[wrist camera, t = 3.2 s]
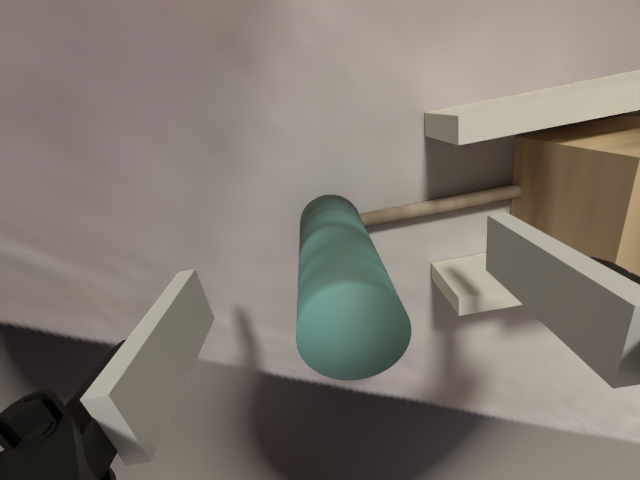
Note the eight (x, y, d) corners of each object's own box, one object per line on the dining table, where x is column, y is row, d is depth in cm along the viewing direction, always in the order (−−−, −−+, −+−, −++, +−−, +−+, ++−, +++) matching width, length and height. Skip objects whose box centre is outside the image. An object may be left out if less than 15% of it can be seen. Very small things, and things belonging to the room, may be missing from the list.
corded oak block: (310, 271, 20) (315, 412, 11) (289, 181, 18) (274, 265, 9) (605, 216, 19) (869, 317, 10) (625, 115, 17) (995, 130, 8)
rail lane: (431, 278, 21) (458, 316, 17) (424, 112, 17) (458, 115, 13) (645, 239, 20) (720, 269, 17) (694, 58, 16) (809, 45, 12)
